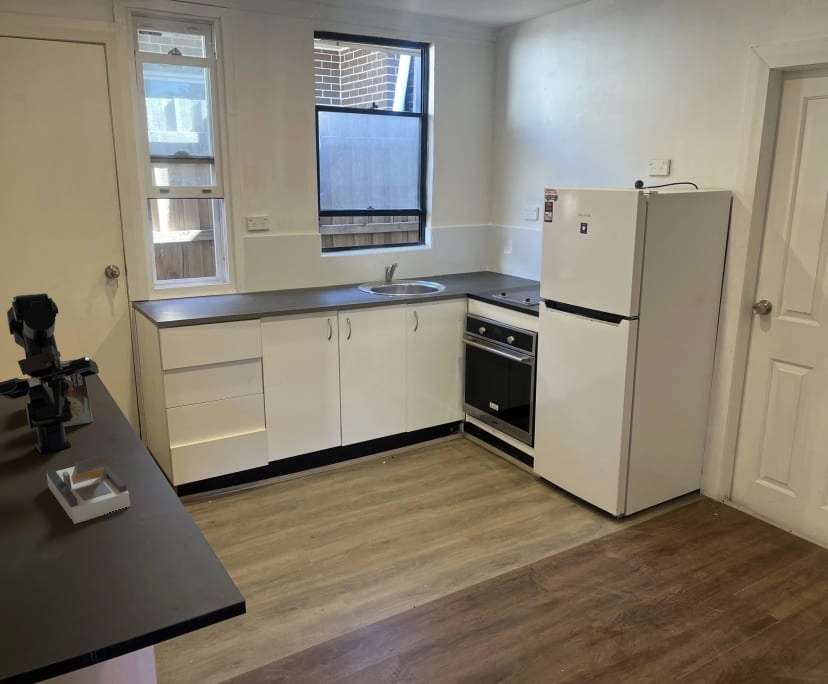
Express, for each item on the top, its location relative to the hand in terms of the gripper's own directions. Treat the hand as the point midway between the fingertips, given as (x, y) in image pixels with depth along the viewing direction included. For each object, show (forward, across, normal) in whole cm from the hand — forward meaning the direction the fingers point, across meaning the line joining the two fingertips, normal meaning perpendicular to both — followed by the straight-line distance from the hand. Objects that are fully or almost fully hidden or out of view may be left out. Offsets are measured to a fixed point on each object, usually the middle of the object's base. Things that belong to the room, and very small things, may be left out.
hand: (58, 415), depth 140 cm
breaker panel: (+19, +3, -4) cm, 20 cm away
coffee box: (-7, -9, +35) cm, 37 cm away
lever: (+16, +4, -6) cm, 18 cm away
